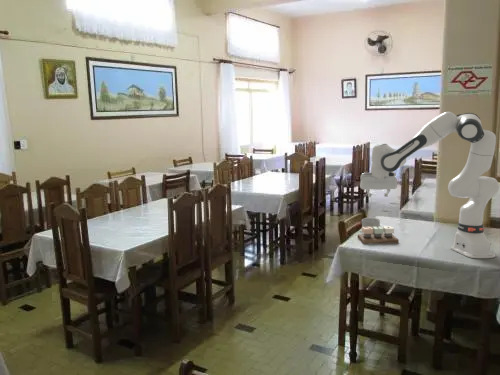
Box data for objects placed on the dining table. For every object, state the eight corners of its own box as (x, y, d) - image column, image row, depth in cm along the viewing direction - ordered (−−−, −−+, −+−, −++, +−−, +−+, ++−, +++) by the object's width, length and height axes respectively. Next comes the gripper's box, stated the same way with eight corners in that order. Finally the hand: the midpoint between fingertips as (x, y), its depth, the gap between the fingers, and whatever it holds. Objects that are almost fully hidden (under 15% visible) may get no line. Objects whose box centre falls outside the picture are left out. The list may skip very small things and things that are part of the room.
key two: (383, 236, 250) (383, 228, 249) (374, 237, 249) (375, 228, 249) (380, 234, 254) (380, 226, 254) (372, 234, 254) (372, 226, 254)
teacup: (380, 235, 262) (380, 222, 261) (361, 234, 265) (362, 221, 263) (378, 229, 276) (378, 216, 274) (360, 228, 278) (360, 216, 277)
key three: (372, 237, 249) (373, 228, 249) (364, 237, 249) (364, 228, 248) (370, 234, 254) (370, 226, 254) (361, 234, 254) (362, 226, 253)
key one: (393, 236, 250) (394, 228, 249) (385, 236, 250) (385, 228, 249) (390, 234, 255) (391, 225, 254) (382, 234, 255) (382, 226, 254)
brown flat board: (398, 242, 247) (398, 239, 246) (363, 243, 246) (363, 240, 246) (391, 236, 259) (391, 233, 258) (357, 237, 258) (357, 234, 258)
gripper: (362, 174, 243) (361, 198, 246) (398, 173, 243) (397, 197, 246) (359, 171, 249) (358, 195, 252) (394, 171, 250) (393, 195, 253)
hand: (377, 196), depth 249 cm, fingers open, 8 cm apart
